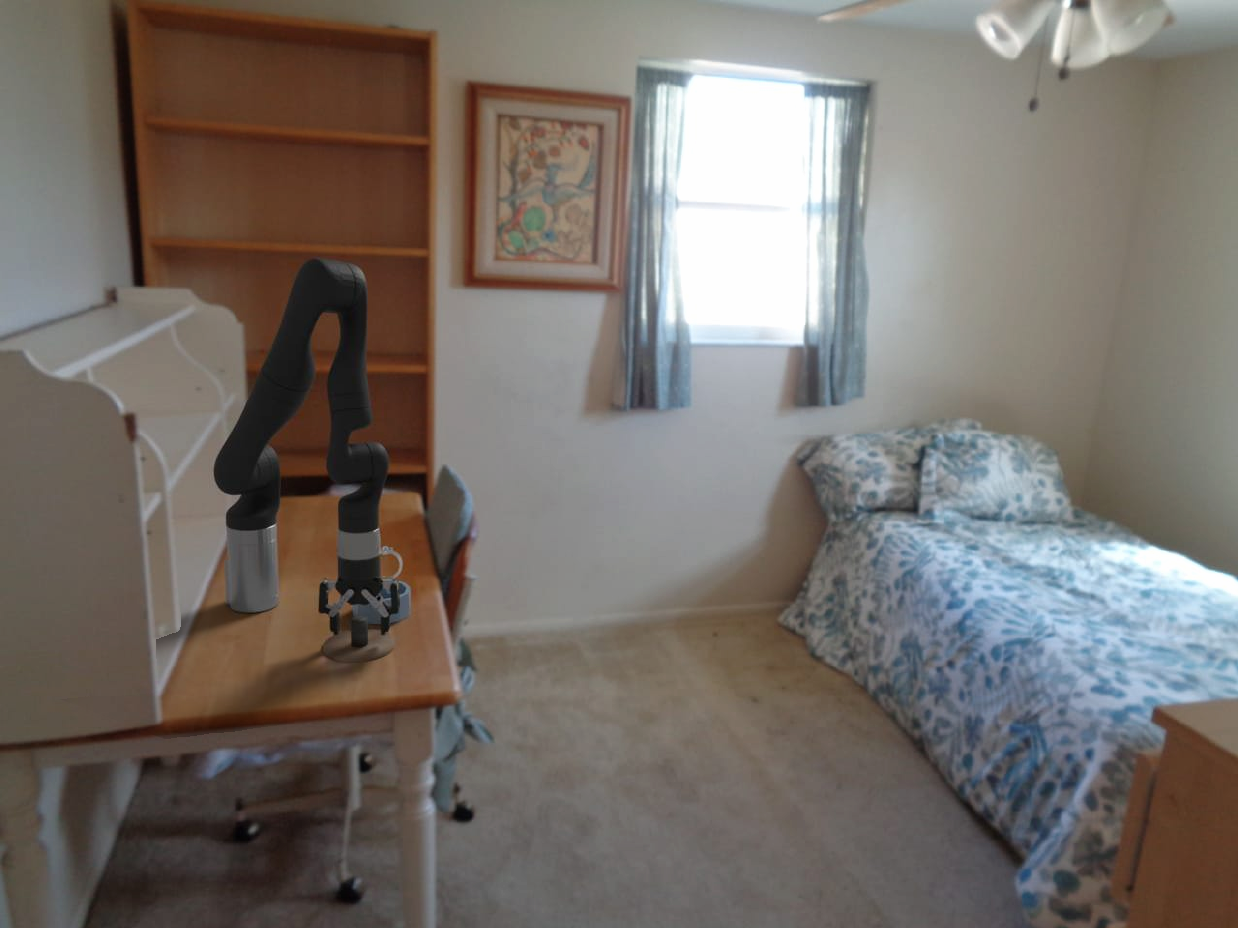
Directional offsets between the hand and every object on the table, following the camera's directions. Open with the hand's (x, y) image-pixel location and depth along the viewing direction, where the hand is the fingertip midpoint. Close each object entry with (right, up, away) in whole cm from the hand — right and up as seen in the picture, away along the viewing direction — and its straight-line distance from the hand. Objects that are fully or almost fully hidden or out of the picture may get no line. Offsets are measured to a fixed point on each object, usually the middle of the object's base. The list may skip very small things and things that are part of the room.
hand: (360, 633), depth 160 cm
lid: (0, -3, +1) cm, 3 cm away
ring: (-4, +5, +32) cm, 32 cm away
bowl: (0, +1, +15) cm, 15 cm away
